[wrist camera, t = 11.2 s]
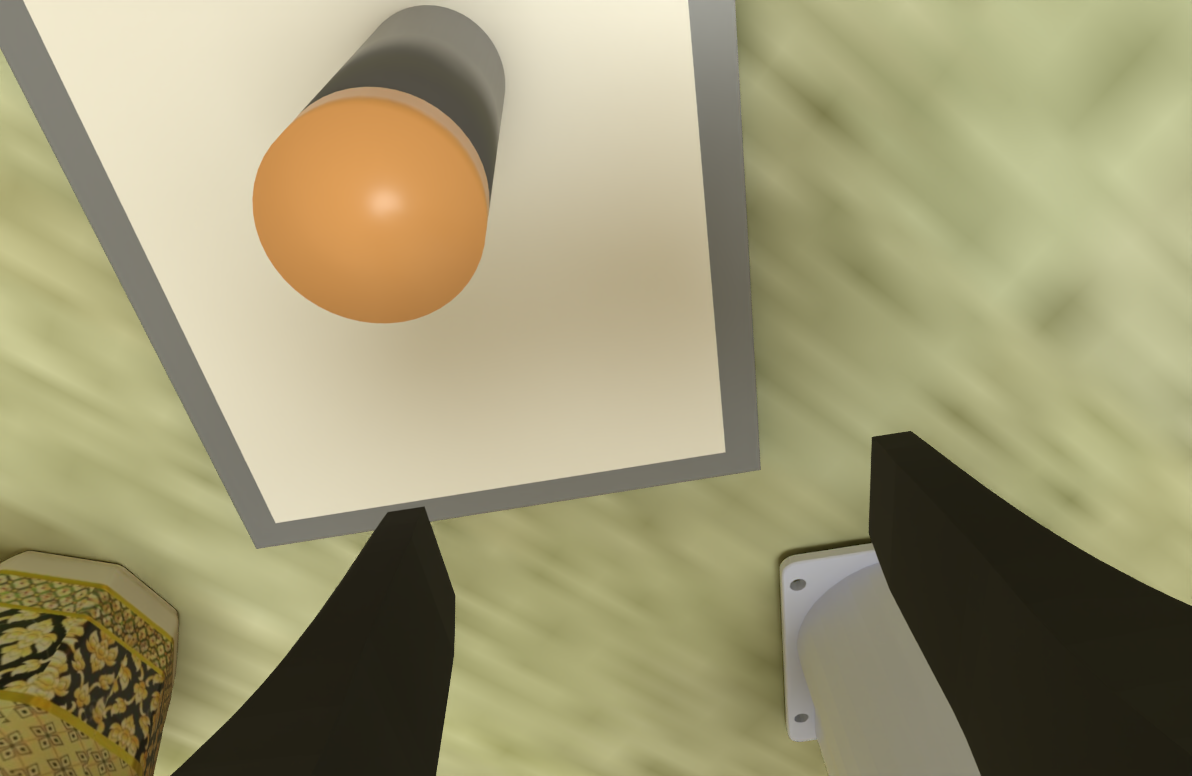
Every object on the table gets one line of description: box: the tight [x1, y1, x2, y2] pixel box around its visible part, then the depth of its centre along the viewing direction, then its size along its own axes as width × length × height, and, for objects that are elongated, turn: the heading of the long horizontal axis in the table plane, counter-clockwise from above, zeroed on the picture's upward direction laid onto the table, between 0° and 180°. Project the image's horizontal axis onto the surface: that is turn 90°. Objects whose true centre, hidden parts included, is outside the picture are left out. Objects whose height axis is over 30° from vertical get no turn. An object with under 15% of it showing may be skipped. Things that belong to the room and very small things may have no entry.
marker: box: [252, 5, 505, 323], centre depth 14 cm, size 3×3×8 cm
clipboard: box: [0, 0, 761, 549], centre depth 19 cm, size 20×15×2 cm
